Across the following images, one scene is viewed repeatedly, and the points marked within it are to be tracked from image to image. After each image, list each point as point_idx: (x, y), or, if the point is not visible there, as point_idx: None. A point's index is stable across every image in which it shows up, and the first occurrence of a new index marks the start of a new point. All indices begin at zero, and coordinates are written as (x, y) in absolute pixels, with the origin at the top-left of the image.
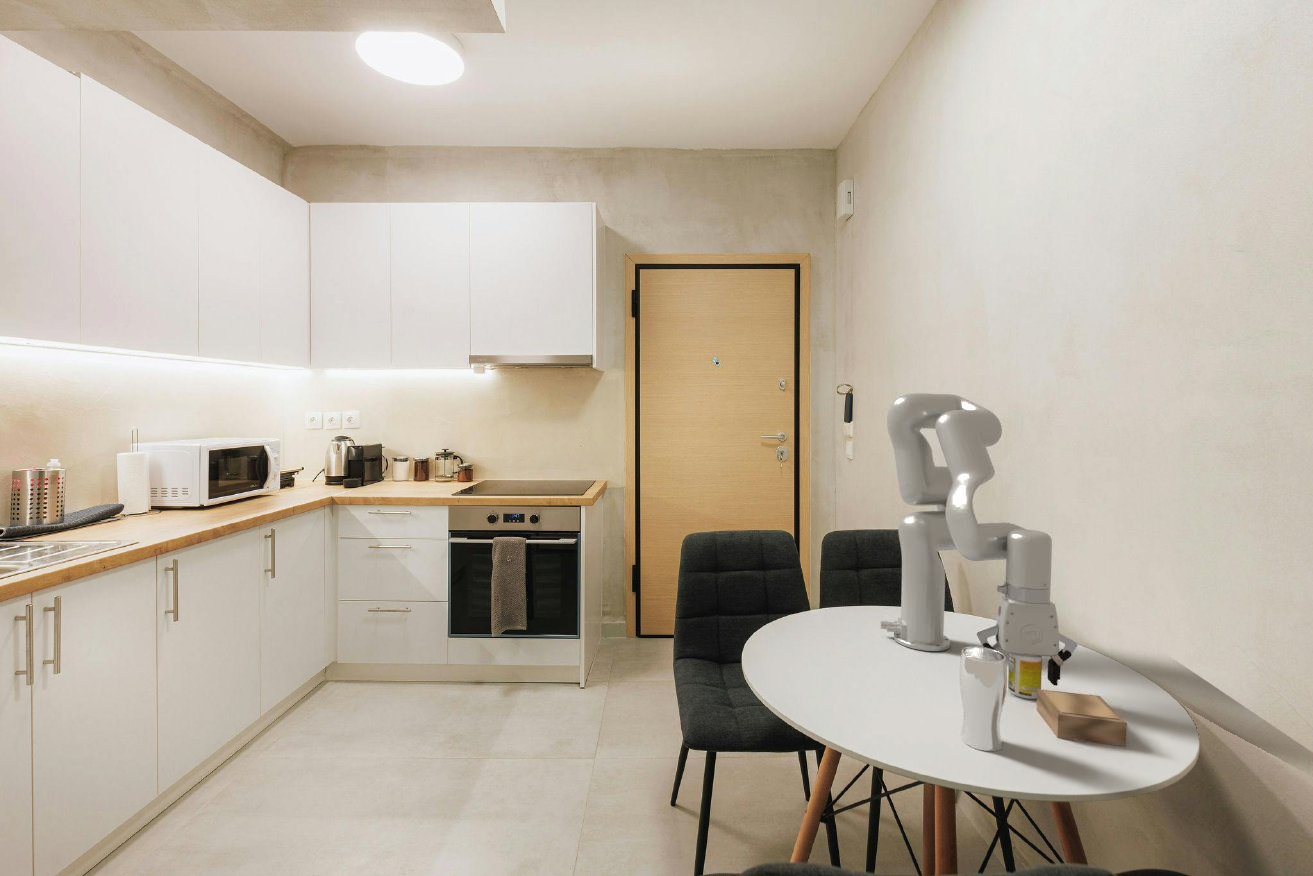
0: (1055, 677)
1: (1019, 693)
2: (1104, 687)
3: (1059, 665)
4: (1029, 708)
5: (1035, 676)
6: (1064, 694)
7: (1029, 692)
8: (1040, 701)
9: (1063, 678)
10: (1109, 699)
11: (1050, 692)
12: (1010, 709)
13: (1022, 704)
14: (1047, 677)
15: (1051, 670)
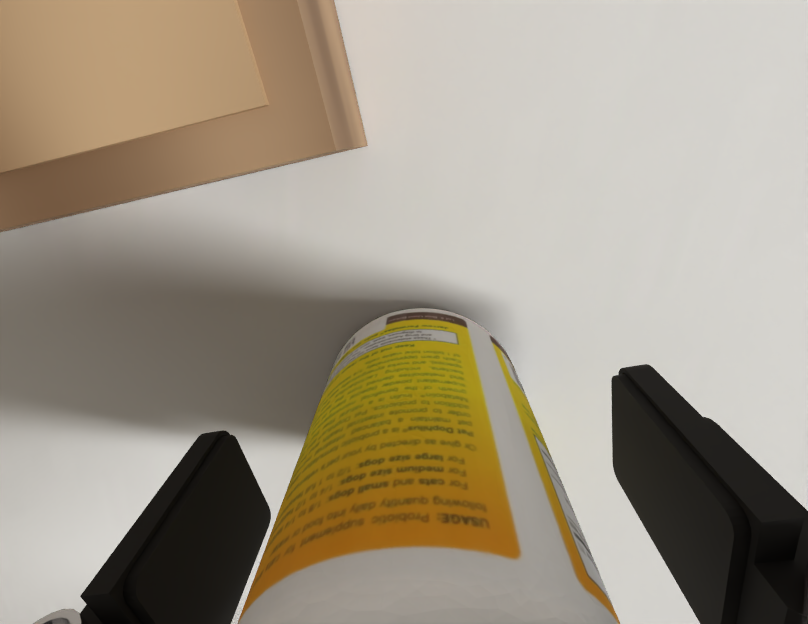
0: (183, 478)
1: (462, 320)
2: (77, 592)
3: (87, 618)
4: (413, 158)
5: (341, 419)
6: (49, 98)
7: (399, 326)
8: (325, 43)
9: (235, 614)
10: (31, 490)
11: (193, 81)
12: (557, 55)
13: (452, 209)
14: (268, 521)
15: (197, 551)
